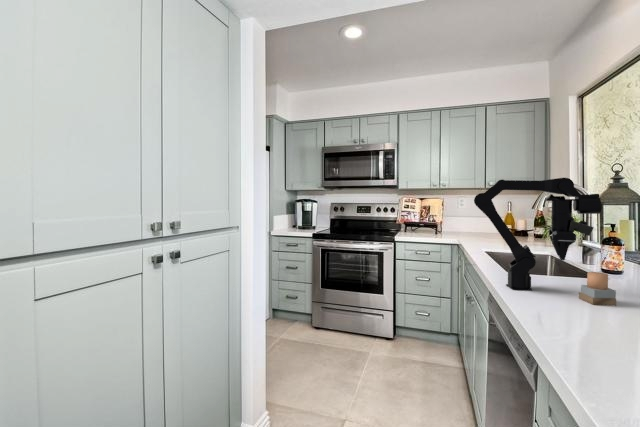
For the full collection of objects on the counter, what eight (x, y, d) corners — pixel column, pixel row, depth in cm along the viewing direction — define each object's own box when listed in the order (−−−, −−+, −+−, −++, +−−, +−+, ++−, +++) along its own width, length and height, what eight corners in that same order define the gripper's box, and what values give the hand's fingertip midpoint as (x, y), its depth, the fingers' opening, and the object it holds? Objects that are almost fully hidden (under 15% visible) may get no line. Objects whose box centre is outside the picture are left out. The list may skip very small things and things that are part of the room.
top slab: (594, 298, 99) (594, 290, 99) (580, 292, 105) (581, 284, 105) (615, 298, 98) (615, 290, 98) (601, 292, 104) (601, 285, 104)
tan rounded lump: (594, 289, 100) (595, 275, 99) (583, 285, 105) (583, 271, 104) (612, 289, 99) (612, 275, 99) (599, 285, 104) (599, 271, 104)
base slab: (592, 306, 99) (592, 298, 99) (578, 299, 106) (578, 292, 106) (616, 306, 98) (616, 298, 98) (600, 300, 105) (600, 292, 105)
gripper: (597, 215, 100) (596, 264, 100) (586, 212, 116) (585, 255, 116) (553, 215, 106) (552, 261, 106) (548, 212, 121) (548, 253, 122)
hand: (560, 257), depth 113 cm, fingers open, 9 cm apart
